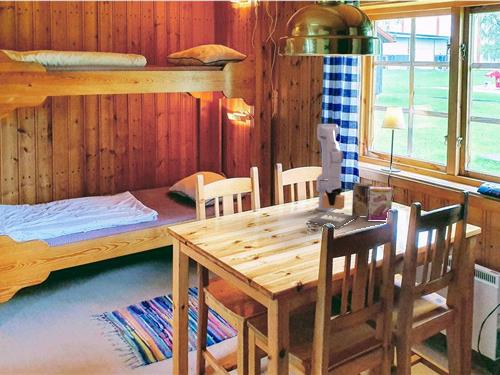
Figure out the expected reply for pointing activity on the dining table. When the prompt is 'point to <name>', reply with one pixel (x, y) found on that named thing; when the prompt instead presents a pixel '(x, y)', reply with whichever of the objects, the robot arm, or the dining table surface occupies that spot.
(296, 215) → the dining table surface
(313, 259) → the dining table surface
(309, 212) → the dining table surface
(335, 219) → the pin board
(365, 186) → the coffee box
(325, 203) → the block
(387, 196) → the candy bar box
